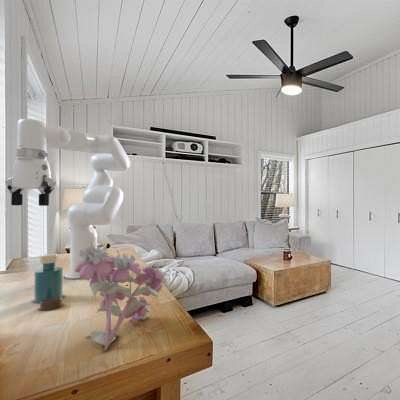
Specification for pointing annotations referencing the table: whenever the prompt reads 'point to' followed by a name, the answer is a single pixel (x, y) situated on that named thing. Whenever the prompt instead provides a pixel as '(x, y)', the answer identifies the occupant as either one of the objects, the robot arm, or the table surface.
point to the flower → (117, 287)
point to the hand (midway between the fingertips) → (30, 205)
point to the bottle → (48, 278)
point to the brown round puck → (50, 303)
